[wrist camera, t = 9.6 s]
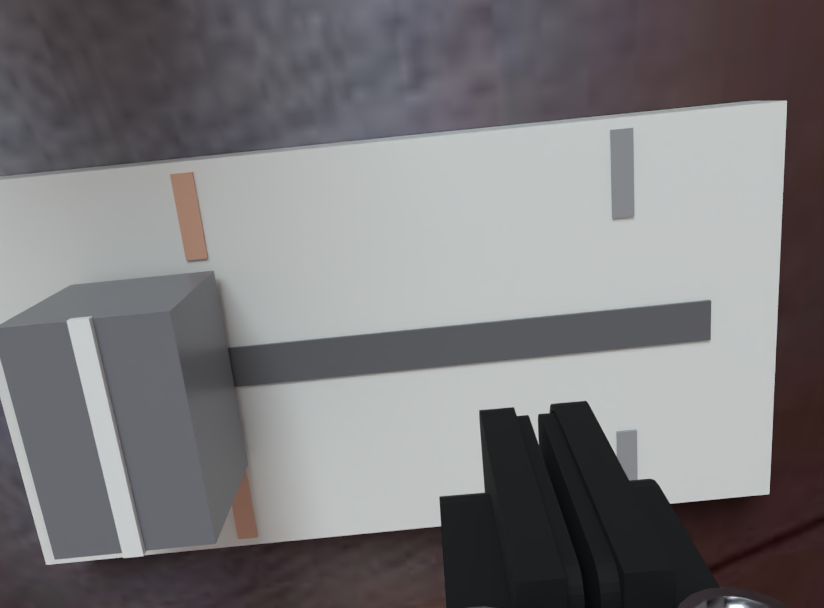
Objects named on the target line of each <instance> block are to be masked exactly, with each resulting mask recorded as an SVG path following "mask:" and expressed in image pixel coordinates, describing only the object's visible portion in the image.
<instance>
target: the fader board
mask: <svg viewBox="0 0 824 608" xmlns="http://www.w3.org/2000/svg"><path fill="white" fill-rule="evenodd" d="M786 114H787V101H745V102H735V103H725V104H716V105H706V106H696V107H686V108H676V109H666V110H656V111H646V112H636V113H626V114H616V115H606V116H596V117H586V118H576V119H566V120H557V121H547V122H537V123H527V124H517V125H507V126H497V127H487V128H477V129H467V130H457V131H447V132H437V133H427V134H417V135H407V136H397V137H388V138H378V139H368V140H358V141H348V142H338V143H328V144H318V145H308V146H298V147H288V148H278V149H268V150H258V151H248V152H238V153H228V154H219V155H209V156H199V157H189V158H179V159H169V160H159V161H149V162H139V163H129V164H119V165H109V166H99V167H89V168H79V169H69V170H59V171H50V172H40V173H30V174H20V175H10V176H0V324H2V323H3V322H5V321H7V320H9V319H11V318H12V317H14V316H16V315H18V314H19V313H21V312H23V311H25V310H27V309H28V308H30V307H32V306H34V305H36V304H37V303H39V302H41V301H43V300H44V299H46V298H48V297H50V296H52V295H53V294H55V293H57V292H59V291H61V290H62V289H64V288H66V287H68V286H69V285H74V284H84V283H94V282H104V281H114V280H124V279H135V278H145V277H155V276H165V275H175V274H185V273H195V272H205V271H214V274H215V280H216V285H217V291H218V297H219V302H220V308H221V314H222V319H223V325H224V331H225V336H226V342H227V347H228V353H229V359H230V364H231V370H232V376H233V381H234V387H235V393H236V398H237V404H238V409H239V415H240V421H241V426H242V432H243V438H244V443H245V449H246V455H247V460H248V467H247V469H246V471H245V474H244V476H243V479H242V481H241V484H240V486H239V489H238V491H237V494H236V496H235V498H234V501H233V503H232V506H231V508H230V511H229V513H228V516H227V518H226V521H225V523H224V525H223V528H222V530H221V533H220V535H219V538H218V540H217V543H216V544H210V545H200V546H189V547H179V548H169V549H159V550H149V551H146V553H145V555H152V554H162V553H172V552H182V551H193V550H203V549H213V548H223V547H234V546H244V545H254V544H264V543H274V542H285V541H295V540H305V539H315V538H326V537H336V536H346V535H356V534H367V533H377V532H387V531H397V530H407V529H418V528H428V527H438V526H441V516H440V500H439V496H451V495H463V494H475V493H485V488H484V474H483V461H482V447H481V434H480V420H479V410H487V409H499V408H510V407H514V409H515V412H516V415H517V416H523V415H529V418H530V421H531V424H532V427H533V429H534V432H535V435H536V438H537V441H538V444H539V436H538V415H539V414H546V413H550V405H551V404H556V403H567V402H579V401H587V402H588V404H589V405H590V407H591V409H592V411H593V413H594V415H595V417H596V419H597V421H598V422H599V424H600V426H601V428H602V430H603V432H604V434H605V436H606V438H607V439H608V441H609V443H610V445H611V447H612V449H613V451H614V453H615V455H616V456H617V458H618V460H619V462H620V464H621V466H622V468H623V470H624V472H625V473H626V475H627V477H628V479H629V480H641V479H653V480H655V481H656V482H657V483H658V485H659V486H660V488H661V489H662V491H663V493H664V494H665V496H666V498H667V499H668V501H669V503H670V504H673V503H684V502H694V501H704V500H714V499H724V498H735V497H745V496H755V495H765V494H769V493H770V471H771V449H772V426H773V404H774V382H775V359H776V337H777V315H778V292H779V270H780V248H781V225H782V203H783V181H784V158H785V136H786ZM0 398H1V402H2V405H3V409H4V413H5V416H6V420H7V424H8V427H9V431H10V434H11V438H12V442H13V445H14V449H15V453H16V456H17V460H18V464H19V467H20V471H21V475H22V478H23V482H24V485H25V489H26V493H27V496H28V500H29V504H30V507H31V511H32V515H33V518H34V522H35V525H36V529H37V533H38V536H39V540H40V544H41V547H42V551H43V555H44V558H45V562H46V565H49V564H60V563H70V562H80V561H90V560H101V559H111V558H121V557H123V555H122V553H118V554H108V555H97V556H87V557H77V558H67V559H57V560H55V559H54V555H53V552H52V548H51V544H50V541H49V537H48V533H47V530H46V526H45V522H44V519H43V515H42V511H41V507H40V504H39V500H38V496H37V493H36V489H35V485H34V482H33V478H32V474H31V470H30V467H29V463H28V459H27V456H26V452H25V448H24V445H23V441H22V437H21V434H20V430H19V426H18V422H17V419H16V415H15V411H14V408H13V404H12V400H11V397H10V393H9V389H8V385H7V382H6V378H5V374H4V371H3V367H2V363H1V360H0Z"/></svg>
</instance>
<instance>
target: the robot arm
mask: <svg viewBox="0 0 824 608" xmlns="http://www.w3.org/2000/svg"><path fill="white" fill-rule="evenodd" d="M479 420H480V434H481V447H482V461H483V474H484V488H485V493H475V494H463V495H451V496H439V500H440V516H441V531H442V546H443V561H444V576H445V591H446V606H447V608H790V607H788V606H786V605H785V604H783V603H781V602H779V601H777V600H775V599H773V598H772V597H769V596H766V595H763V594H760V593H757V592H754V591H751V590H746V589H739V588H731V587H721V588H720V587H719V585H718V584H717V582H716V580H715V578H714V577H713V575H712V573H711V572H710V570H709V568H708V567H707V565H706V563H705V562H704V560H703V558H702V557H701V555H700V553H699V552H698V550H697V548H696V547H695V545H694V543H693V542H692V540H691V538H690V536H689V535H688V533H687V531H686V530H685V528H684V526H683V525H682V523H681V521H680V520H679V518H678V516H677V515H676V513H675V511H674V510H673V508H672V506H671V505H670V503H669V501H668V499H667V498H666V496H665V494H664V493H663V491H662V489H661V488H660V486H659V485H658V483H657V482H656V481H655V480H653V479H641V480H629V479H628V477H627V475H626V473H625V472H624V470H623V468H622V466H621V464H620V462H619V460H618V458H617V456H616V455H615V453H614V451H613V449H612V447H611V445H610V443H609V441H608V439H607V438H606V436H605V434H604V432H603V430H602V428H601V426H600V424H599V422H598V421H597V419H596V417H595V415H594V413H593V411H592V409H591V407H590V405H589V404H588V402H587V401H579V402H567V403H556V404H551V405H550V413H546V414H539V415H538V436H539V444H538V441H537V438H536V435H535V432H534V429H533V427H532V424H531V421H530V418H529V415H523V416H517V415H516V412H515V409H514V407H510V408H499V409H487V410H479Z"/></svg>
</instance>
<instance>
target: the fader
mask: <svg viewBox="0 0 824 608" xmlns="http://www.w3.org/2000/svg"><path fill="white" fill-rule="evenodd" d="M0 360H1V363H2V367H3V371H4V374H5V378H6V382H7V385H8V389H9V393H10V397H11V400H12V404H13V408H14V411H15V415H16V419H17V422H18V426H19V430H20V434H21V437H22V441H23V445H24V448H25V452H26V456H27V459H28V463H29V467H30V470H31V474H32V478H33V482H34V485H35V489H36V493H37V496H38V500H39V504H40V507H41V511H42V515H43V519H44V522H45V526H46V530H47V533H48V537H49V541H50V544H51V548H52V552H53V555H54V559H55V560H57V559H67V558H77V557H87V556H97V555H108V554H118V553H122V555H123V558H131V557H141V556H144V555H145V553H146V551H149V550H159V549H169V548H179V547H189V546H200V545H210V544H216V543H217V540H218V538H219V535H220V533H221V530H222V528H223V525H224V523H225V521H226V518H227V516H228V513H229V511H230V508H231V506H232V503H233V501H234V498H235V496H236V494H237V491H238V489H239V486H240V484H241V481H242V479H243V476H244V474H245V471H246V469H247V467H248V460H247V455H246V449H245V443H244V438H243V432H242V426H241V421H240V415H239V409H238V404H237V398H236V393H235V387H234V381H233V376H232V370H231V364H230V359H229V353H228V347H227V342H226V336H225V331H224V325H223V319H222V314H221V308H220V302H219V297H218V291H217V285H216V280H215V274H214V271H205V272H195V273H185V274H175V275H165V276H155V277H145V278H135V279H124V280H114V281H104V282H94V283H84V284H74V285H69V286H68V287H66V288H64V289H62V290H61V291H59V292H57V293H55V294H53V295H52V296H50V297H48V298H46V299H44V300H43V301H41V302H39V303H37V304H36V305H34V306H32V307H30V308H28V309H27V310H25V311H23V312H21V313H19V314H18V315H16V316H14V317H12V318H11V319H9V320H7V321H5V322H3V323H2V324H0Z"/></svg>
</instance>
